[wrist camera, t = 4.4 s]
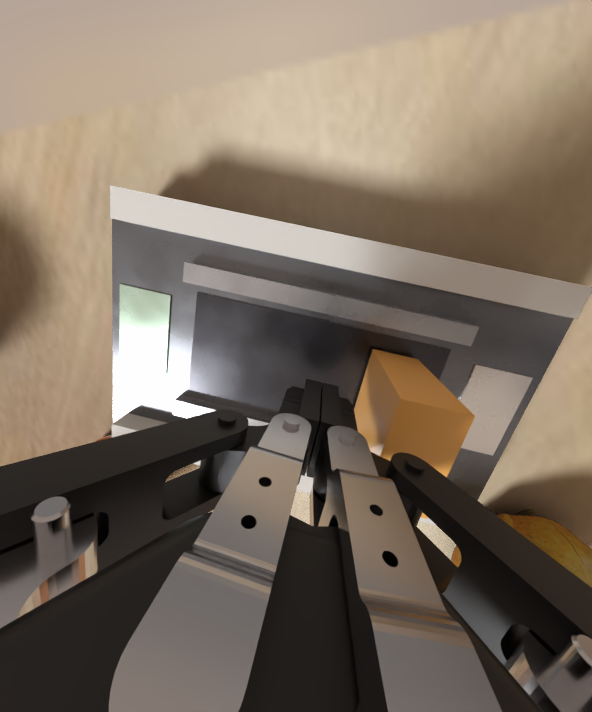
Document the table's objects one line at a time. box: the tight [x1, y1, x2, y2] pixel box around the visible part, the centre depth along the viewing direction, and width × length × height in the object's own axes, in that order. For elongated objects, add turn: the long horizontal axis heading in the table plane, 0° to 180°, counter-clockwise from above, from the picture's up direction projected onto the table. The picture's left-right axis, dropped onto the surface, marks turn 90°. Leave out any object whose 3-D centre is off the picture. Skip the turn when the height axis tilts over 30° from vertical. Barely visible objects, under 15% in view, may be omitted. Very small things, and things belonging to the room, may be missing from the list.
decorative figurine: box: [451, 510, 592, 588], centre depth 14 cm, size 10×8×15 cm
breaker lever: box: [354, 349, 475, 519], centre depth 12 cm, size 2×4×6 cm, turn 168°
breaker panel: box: [112, 219, 574, 500], centre depth 17 cm, size 24×14×4 cm, turn 78°
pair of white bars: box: [110, 185, 592, 526], centre depth 15 cm, size 22×14×1 cm, turn 78°
